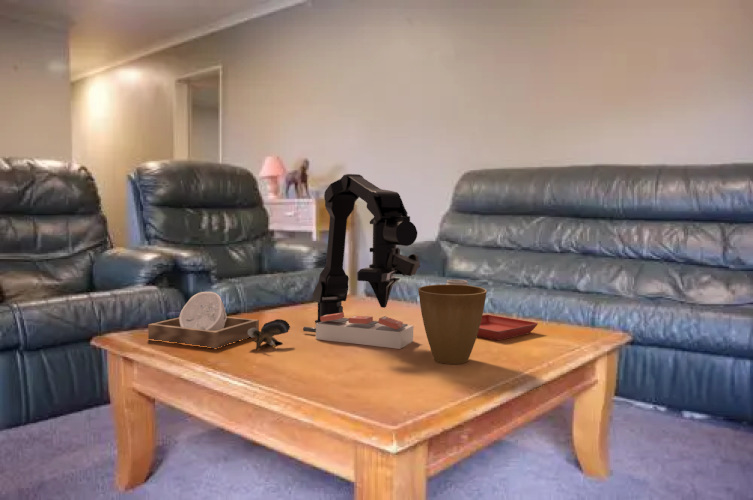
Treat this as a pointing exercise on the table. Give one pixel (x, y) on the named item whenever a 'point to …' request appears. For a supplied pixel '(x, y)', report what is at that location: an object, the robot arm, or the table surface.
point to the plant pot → (451, 319)
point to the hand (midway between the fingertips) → (383, 307)
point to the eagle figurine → (269, 332)
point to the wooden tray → (202, 332)
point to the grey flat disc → (203, 312)
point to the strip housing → (363, 333)
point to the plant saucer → (503, 327)
